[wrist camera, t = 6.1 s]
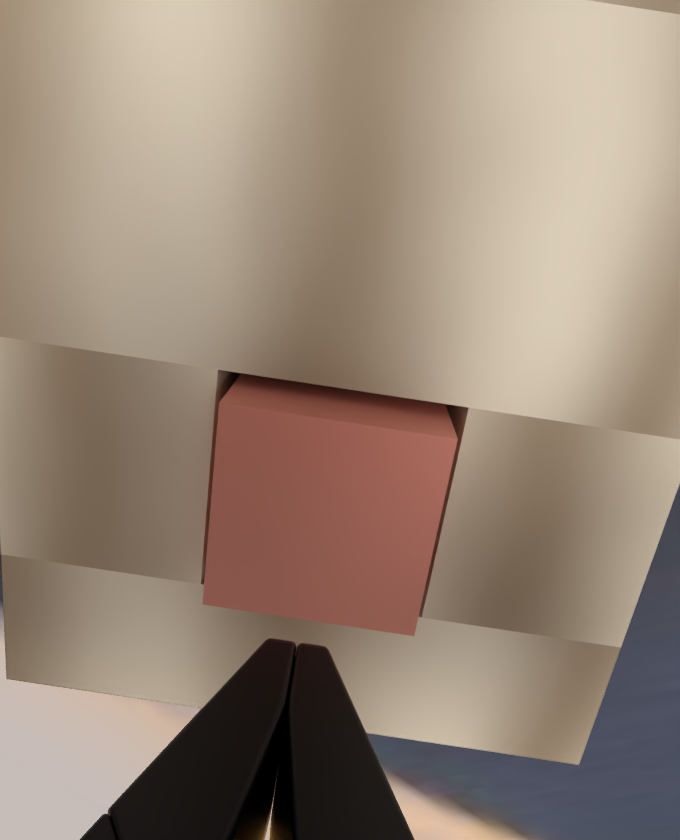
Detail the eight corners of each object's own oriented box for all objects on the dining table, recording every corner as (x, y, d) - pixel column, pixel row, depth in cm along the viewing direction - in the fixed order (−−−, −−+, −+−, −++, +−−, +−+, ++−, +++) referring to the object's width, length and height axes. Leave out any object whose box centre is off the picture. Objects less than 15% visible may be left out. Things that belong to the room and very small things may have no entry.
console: (876, -458, 11) (1140, -803, 7) (537, 652, 19) (578, 764, 15) (83, -582, 11) (-68, -989, 7) (79, 583, 19) (6, 679, 15)
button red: (438, 385, 15) (457, 439, 11) (405, 547, 16) (413, 636, 13) (253, 357, 15) (219, 402, 11) (236, 521, 16) (202, 604, 13)
